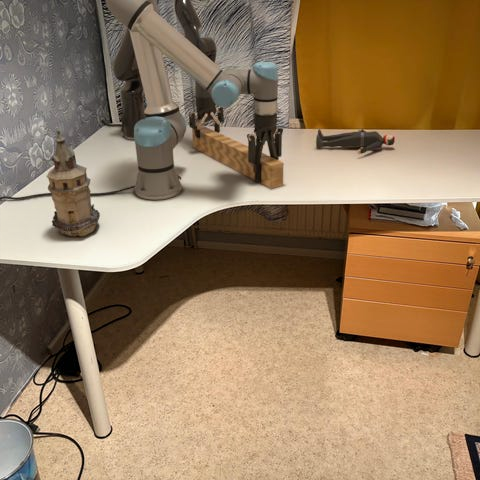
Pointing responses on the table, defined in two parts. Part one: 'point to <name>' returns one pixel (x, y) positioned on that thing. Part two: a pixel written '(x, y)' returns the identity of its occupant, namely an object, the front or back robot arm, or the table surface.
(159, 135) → the front robot arm
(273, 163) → the post
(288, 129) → the table surface
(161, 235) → the table surface
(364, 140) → the toy
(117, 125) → the back robot arm
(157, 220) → the table surface
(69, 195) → the miniature building
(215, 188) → the table surface
